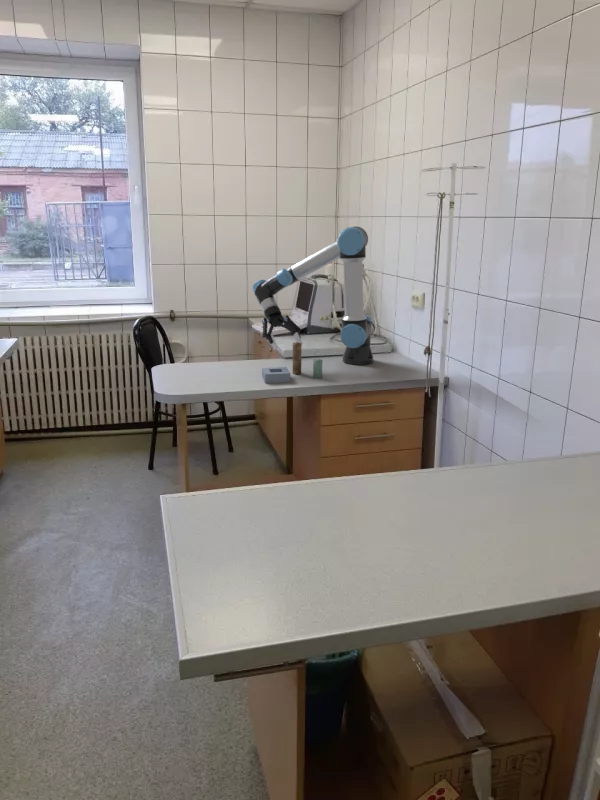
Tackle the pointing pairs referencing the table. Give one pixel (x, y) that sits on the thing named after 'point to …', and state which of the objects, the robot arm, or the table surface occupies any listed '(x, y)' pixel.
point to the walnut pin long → (297, 358)
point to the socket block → (276, 375)
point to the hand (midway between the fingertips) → (288, 347)
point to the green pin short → (317, 368)
